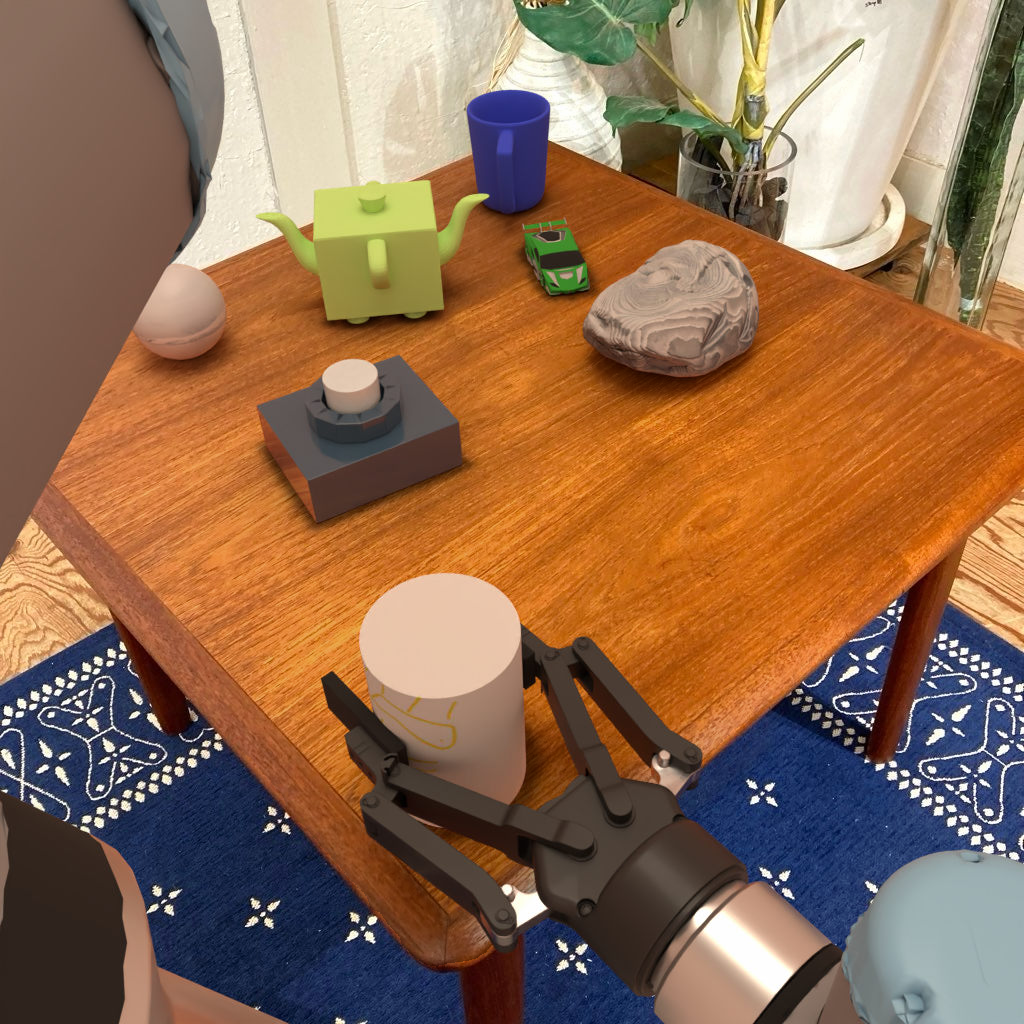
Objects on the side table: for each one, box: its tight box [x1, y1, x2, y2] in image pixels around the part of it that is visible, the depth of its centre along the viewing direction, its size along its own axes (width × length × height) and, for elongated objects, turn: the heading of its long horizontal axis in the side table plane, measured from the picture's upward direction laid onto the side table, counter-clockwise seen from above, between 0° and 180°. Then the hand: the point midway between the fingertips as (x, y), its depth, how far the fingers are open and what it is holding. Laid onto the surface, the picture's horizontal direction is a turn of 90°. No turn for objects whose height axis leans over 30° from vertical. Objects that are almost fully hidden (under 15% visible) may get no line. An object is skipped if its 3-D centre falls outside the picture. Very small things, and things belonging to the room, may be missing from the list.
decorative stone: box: [582, 239, 760, 378], centre depth 89 cm, size 15×14×10 cm
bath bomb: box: [132, 262, 228, 361], centre depth 90 cm, size 8×8×8 cm
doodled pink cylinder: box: [358, 572, 527, 828], centre depth 58 cm, size 8×8×12 cm
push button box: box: [256, 354, 464, 524], centre depth 80 cm, size 12×10×6 cm
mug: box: [466, 89, 551, 215], centre depth 106 cm, size 8×12×10 cm
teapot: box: [255, 179, 489, 324], centre depth 94 cm, size 15×13×11 cm
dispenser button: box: [321, 358, 381, 414], centre depth 78 cm, size 4×4×2 cm
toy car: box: [521, 217, 590, 296], centre depth 100 cm, size 10×5×2 cm, turn 13°
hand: (395, 646), depth 60 cm, fingers closed on doodled pink cylinder, 8 cm apart
